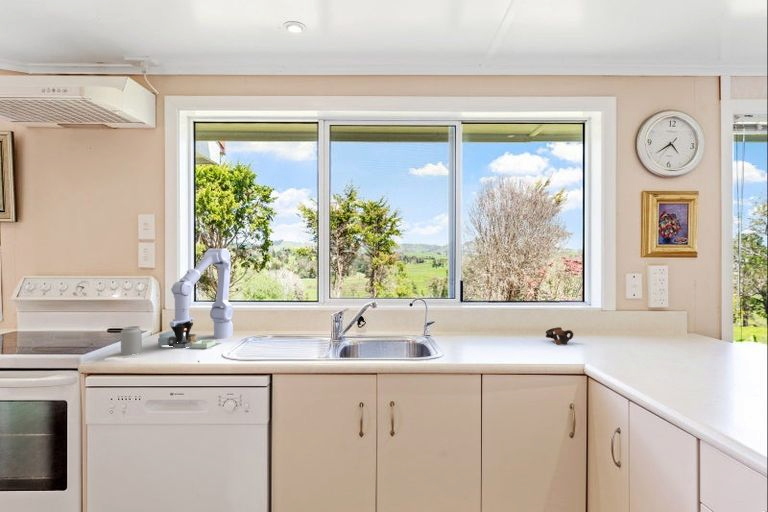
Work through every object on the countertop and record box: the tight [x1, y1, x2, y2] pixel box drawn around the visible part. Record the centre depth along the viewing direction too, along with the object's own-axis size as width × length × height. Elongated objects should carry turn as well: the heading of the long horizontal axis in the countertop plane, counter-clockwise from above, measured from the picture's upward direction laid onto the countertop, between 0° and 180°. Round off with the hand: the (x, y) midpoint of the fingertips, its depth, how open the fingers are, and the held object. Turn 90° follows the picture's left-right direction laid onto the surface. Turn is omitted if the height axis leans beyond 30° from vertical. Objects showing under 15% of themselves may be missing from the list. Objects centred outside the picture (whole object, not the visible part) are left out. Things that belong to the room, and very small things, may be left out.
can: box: [120, 325, 143, 356], centre depth 184 cm, size 8×8×12 cm
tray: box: [192, 339, 217, 350], centre depth 195 cm, size 7×7×2 cm
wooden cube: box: [186, 333, 197, 343], centre depth 202 cm, size 4×4×4 cm
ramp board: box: [173, 342, 222, 350], centre depth 198 cm, size 12×24×3 cm, turn 81°
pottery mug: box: [545, 326, 574, 346], centre depth 206 cm, size 12×10×8 cm
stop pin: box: [179, 328, 187, 344], centre depth 195 cm, size 4×4×8 cm
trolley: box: [157, 330, 179, 346], centre depth 199 cm, size 10×7×5 cm
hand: (182, 340), depth 195 cm, fingers closed on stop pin, 4 cm apart
